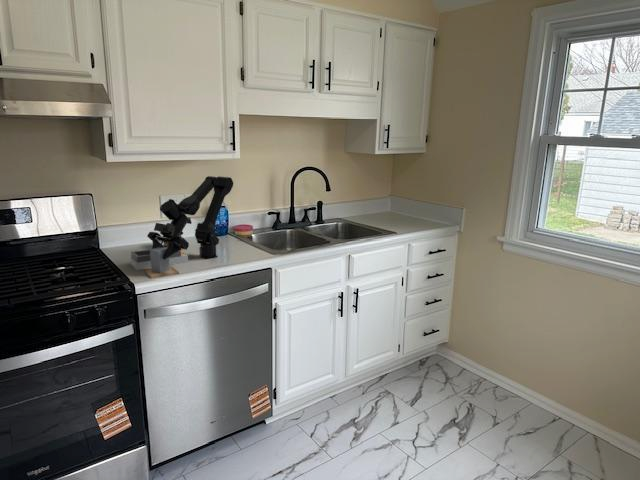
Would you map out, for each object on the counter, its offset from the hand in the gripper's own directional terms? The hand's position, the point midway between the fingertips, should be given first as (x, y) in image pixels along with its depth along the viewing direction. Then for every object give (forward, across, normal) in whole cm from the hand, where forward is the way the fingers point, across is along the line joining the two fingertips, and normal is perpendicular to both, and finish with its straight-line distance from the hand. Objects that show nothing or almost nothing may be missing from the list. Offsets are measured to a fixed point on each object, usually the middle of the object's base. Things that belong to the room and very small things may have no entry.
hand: (157, 257), depth 187 cm
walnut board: (+4, 0, +6) cm, 7 cm away
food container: (-17, -26, +26) cm, 41 cm away
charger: (+3, 0, +5) cm, 6 cm away
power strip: (-2, -10, +12) cm, 16 cm away
